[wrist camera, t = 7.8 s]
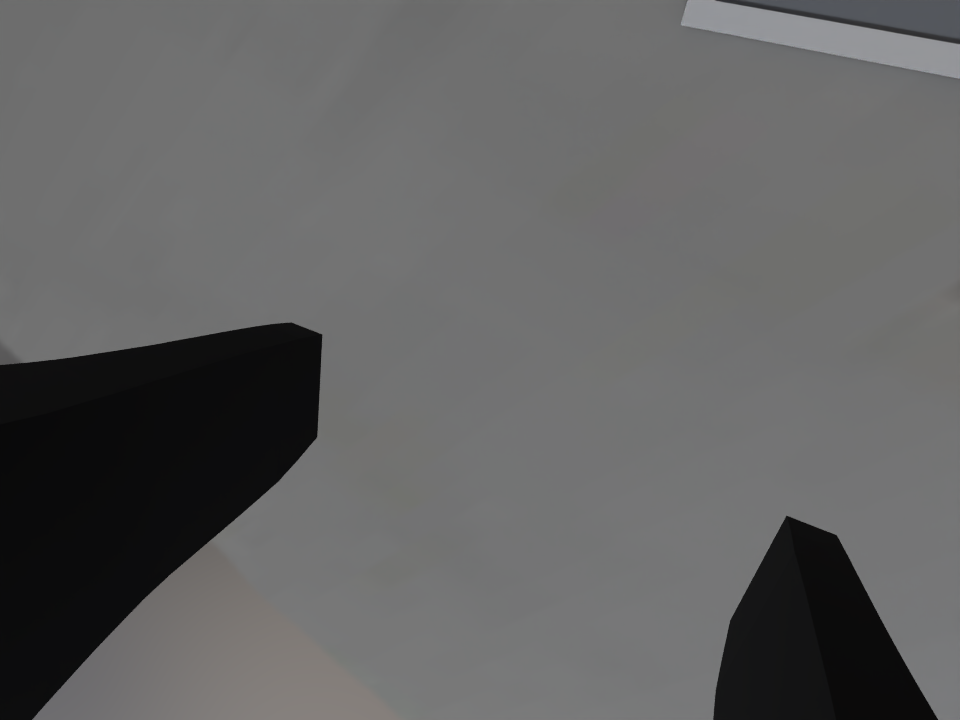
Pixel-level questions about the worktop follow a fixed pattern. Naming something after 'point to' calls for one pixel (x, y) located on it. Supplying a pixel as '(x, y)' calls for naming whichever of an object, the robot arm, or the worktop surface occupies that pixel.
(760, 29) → the grey square tray
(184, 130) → the worktop surface
